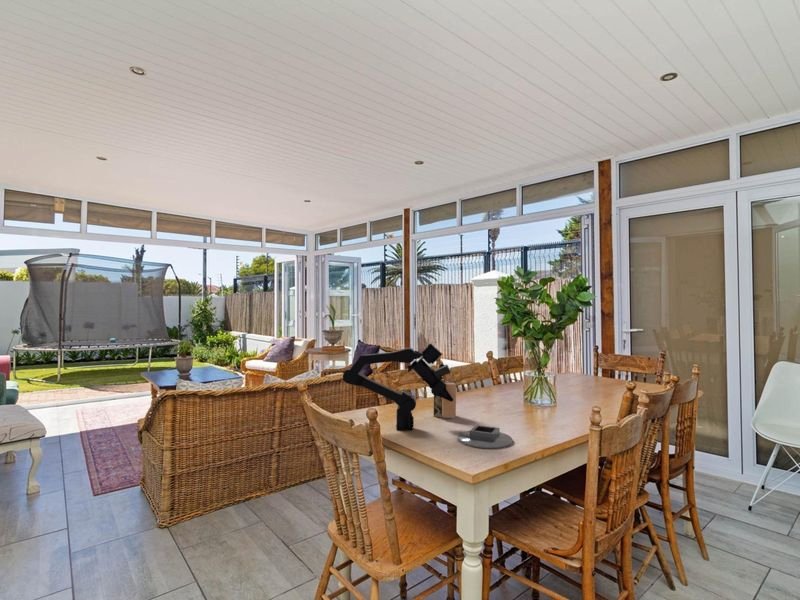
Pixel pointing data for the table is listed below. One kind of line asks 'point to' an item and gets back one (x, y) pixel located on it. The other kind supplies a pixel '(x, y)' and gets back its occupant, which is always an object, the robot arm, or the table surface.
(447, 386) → the tan wooden block
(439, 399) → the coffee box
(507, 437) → the grey disc base
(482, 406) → the table surface
